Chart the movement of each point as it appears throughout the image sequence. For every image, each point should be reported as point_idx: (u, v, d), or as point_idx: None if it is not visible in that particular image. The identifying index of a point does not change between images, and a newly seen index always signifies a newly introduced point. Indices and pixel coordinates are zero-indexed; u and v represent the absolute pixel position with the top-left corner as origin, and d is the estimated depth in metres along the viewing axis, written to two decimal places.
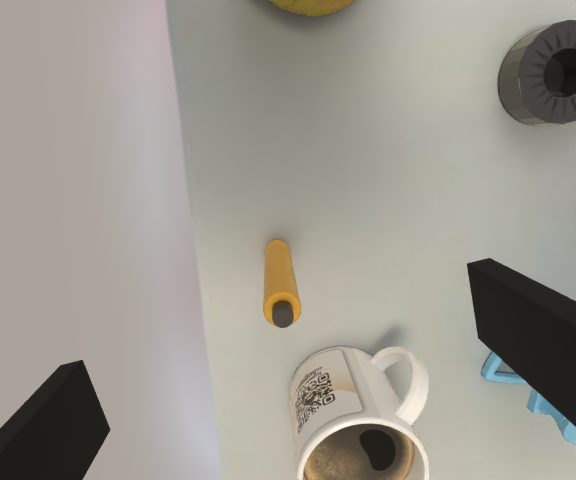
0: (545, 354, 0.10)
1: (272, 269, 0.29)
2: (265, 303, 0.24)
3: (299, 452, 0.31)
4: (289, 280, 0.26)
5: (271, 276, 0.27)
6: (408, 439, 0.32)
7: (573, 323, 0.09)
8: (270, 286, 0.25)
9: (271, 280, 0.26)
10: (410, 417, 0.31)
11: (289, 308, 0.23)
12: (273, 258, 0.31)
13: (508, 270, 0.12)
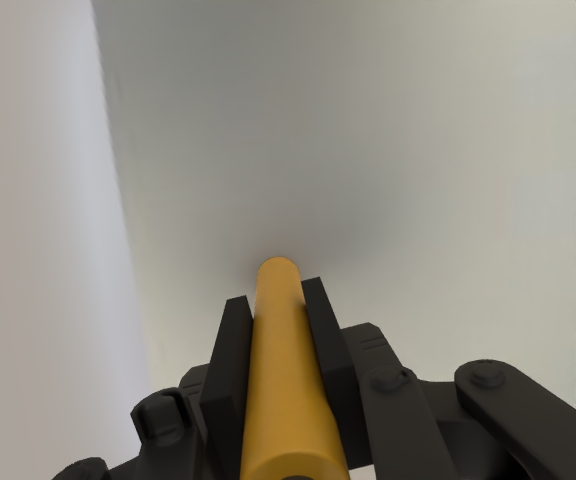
0: None
1: (268, 337, 0.12)
2: None
3: None
4: (311, 381, 0.10)
5: (265, 362, 0.11)
6: None
7: (315, 336, 0.11)
8: (261, 407, 0.09)
9: (264, 380, 0.10)
10: None
11: None
12: (271, 302, 0.15)
13: (320, 288, 0.14)
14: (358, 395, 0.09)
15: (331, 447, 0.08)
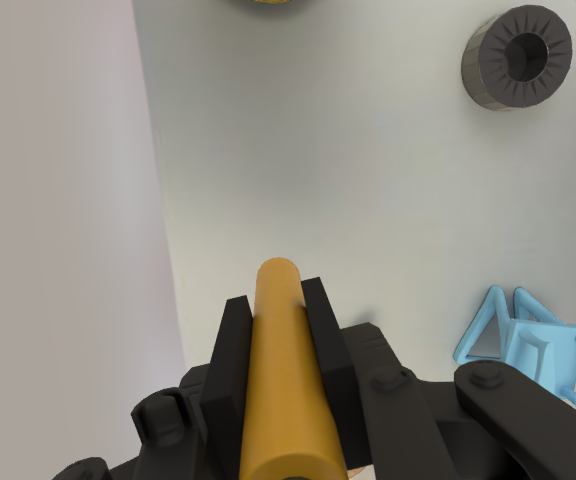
0: None
1: (267, 337, 0.12)
2: None
3: None
4: (310, 382, 0.10)
5: (264, 363, 0.11)
6: None
7: (315, 336, 0.11)
8: (260, 408, 0.09)
9: (264, 381, 0.10)
10: None
11: None
12: (270, 303, 0.15)
13: (320, 288, 0.14)
14: (358, 395, 0.09)
15: (330, 448, 0.08)
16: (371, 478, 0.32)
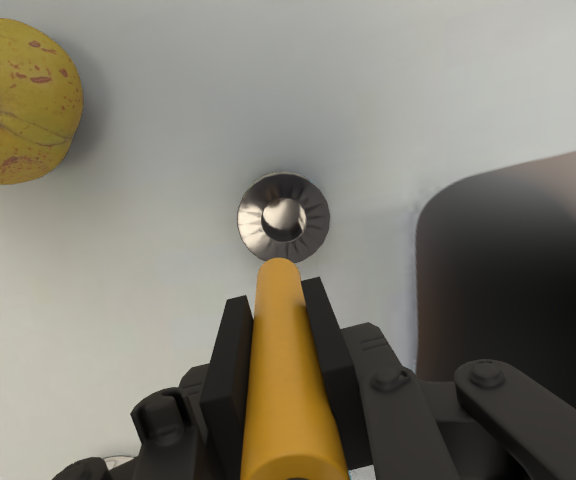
0: None
1: (268, 338, 0.12)
2: None
3: None
4: (311, 382, 0.10)
5: (265, 364, 0.11)
6: None
7: (315, 336, 0.11)
8: (261, 409, 0.09)
9: (265, 381, 0.10)
10: None
11: None
12: (271, 303, 0.15)
13: (320, 288, 0.14)
14: (358, 395, 0.09)
15: (331, 449, 0.08)
16: None
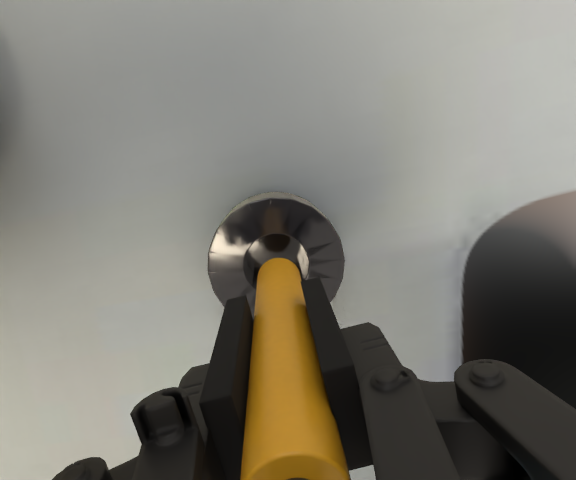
0: None
1: (268, 338, 0.12)
2: None
3: None
4: (312, 382, 0.10)
5: (265, 364, 0.11)
6: None
7: (315, 336, 0.11)
8: (261, 409, 0.09)
9: (265, 381, 0.10)
10: None
11: None
12: (271, 303, 0.15)
13: (320, 288, 0.14)
14: (358, 395, 0.09)
15: (331, 449, 0.08)
16: None
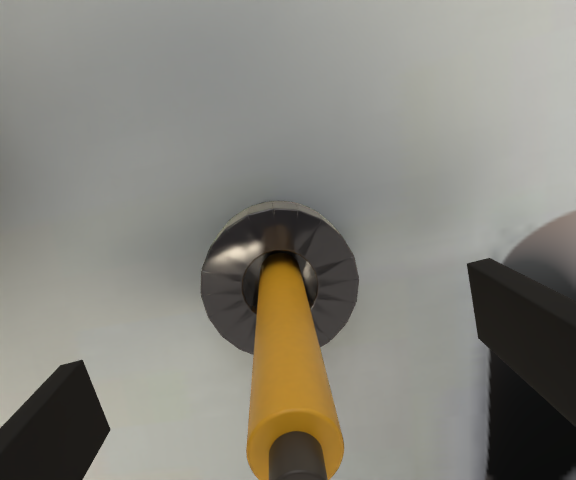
0: (545, 354, 0.10)
1: (271, 322, 0.14)
2: (251, 437, 0.09)
3: None
4: (309, 357, 0.11)
5: (268, 343, 0.12)
6: None
7: (573, 323, 0.09)
8: (265, 378, 0.11)
9: (268, 356, 0.12)
10: None
11: (317, 467, 0.08)
12: (273, 292, 0.16)
13: (508, 270, 0.12)
14: None
15: (325, 409, 0.09)
16: None
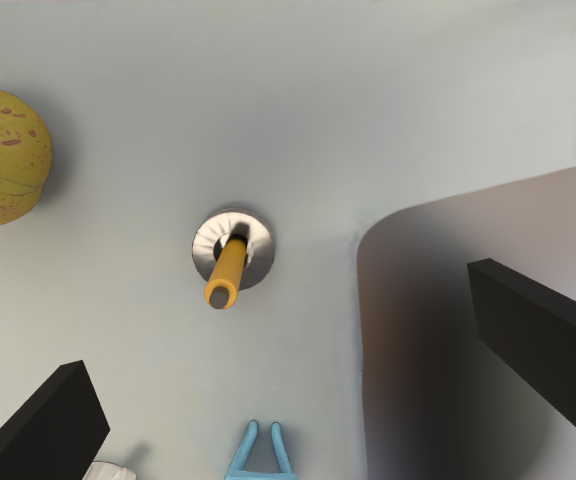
0: (545, 354, 0.10)
1: (220, 260, 0.32)
2: (205, 288, 0.28)
3: None
4: (231, 269, 0.30)
5: (217, 266, 0.31)
6: None
7: (573, 323, 0.09)
8: (213, 274, 0.29)
9: (215, 269, 0.30)
10: None
11: (224, 292, 0.27)
12: (225, 251, 0.35)
13: (508, 270, 0.12)
14: None
15: (231, 280, 0.28)
16: None
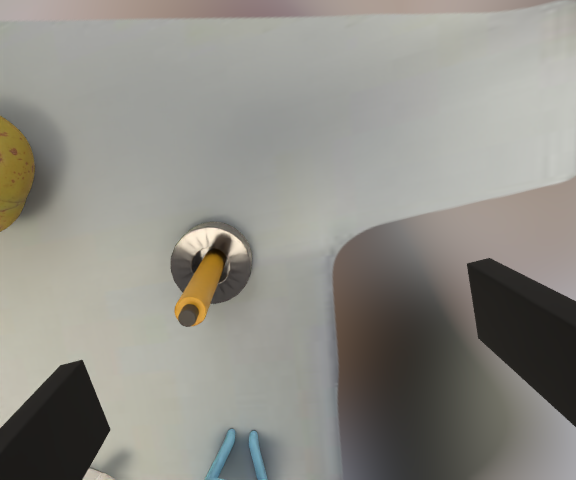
0: (545, 354, 0.10)
1: (194, 277, 0.33)
2: (176, 306, 0.29)
3: None
4: (203, 286, 0.31)
5: (190, 283, 0.32)
6: None
7: (573, 323, 0.09)
8: (184, 292, 0.30)
9: (188, 286, 0.31)
10: None
11: (192, 310, 0.28)
12: (201, 266, 0.36)
13: (508, 270, 0.12)
14: None
15: (201, 298, 0.29)
16: None
